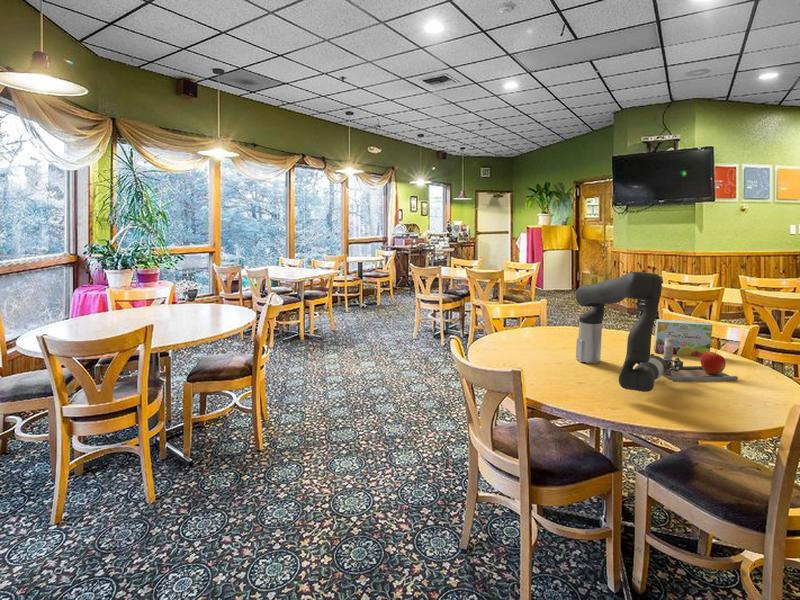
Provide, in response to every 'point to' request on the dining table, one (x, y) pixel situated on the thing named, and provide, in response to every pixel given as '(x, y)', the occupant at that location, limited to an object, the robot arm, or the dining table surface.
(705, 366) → the apple
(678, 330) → the snack box
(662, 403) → the dining table surface
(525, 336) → the dining table surface
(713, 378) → the lane rails
